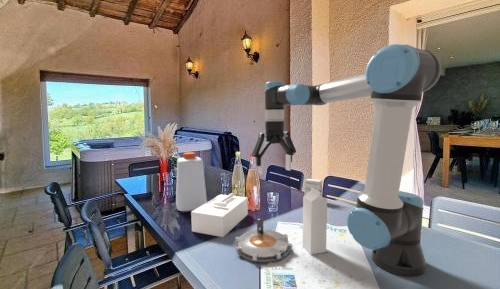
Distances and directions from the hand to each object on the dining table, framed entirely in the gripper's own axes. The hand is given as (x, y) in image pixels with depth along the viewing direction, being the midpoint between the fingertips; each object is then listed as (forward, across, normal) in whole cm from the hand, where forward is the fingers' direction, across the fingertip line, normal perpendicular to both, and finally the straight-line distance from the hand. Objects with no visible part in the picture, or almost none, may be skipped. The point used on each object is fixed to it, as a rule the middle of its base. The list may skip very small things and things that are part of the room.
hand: (274, 172), depth 113 cm
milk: (+24, -1, +23) cm, 33 cm away
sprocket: (+23, +14, +13) cm, 30 cm away
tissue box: (+24, +18, -16) cm, 34 cm away
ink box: (+24, -36, -17) cm, 46 cm away
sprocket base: (+24, +14, +13) cm, 31 cm away
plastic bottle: (+24, +24, -42) cm, 54 cm away
